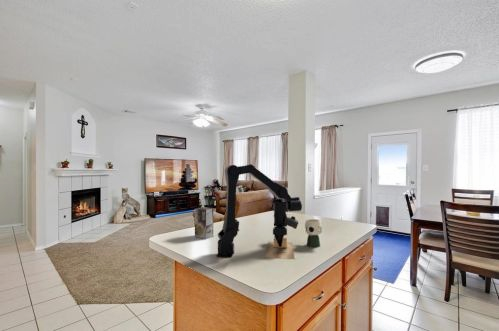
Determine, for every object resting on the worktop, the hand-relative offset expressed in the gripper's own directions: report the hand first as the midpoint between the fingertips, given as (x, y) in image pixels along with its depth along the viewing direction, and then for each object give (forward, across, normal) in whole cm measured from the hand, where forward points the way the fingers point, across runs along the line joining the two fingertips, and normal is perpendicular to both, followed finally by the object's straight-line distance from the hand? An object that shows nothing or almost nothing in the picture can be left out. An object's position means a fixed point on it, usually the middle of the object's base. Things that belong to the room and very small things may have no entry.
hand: (280, 245), depth 107 cm
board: (+2, -4, 0) cm, 4 cm away
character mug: (+2, +4, -16) cm, 17 cm away
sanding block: (0, 0, 0) cm, 0 cm away
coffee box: (+2, +15, +43) cm, 46 cm away
